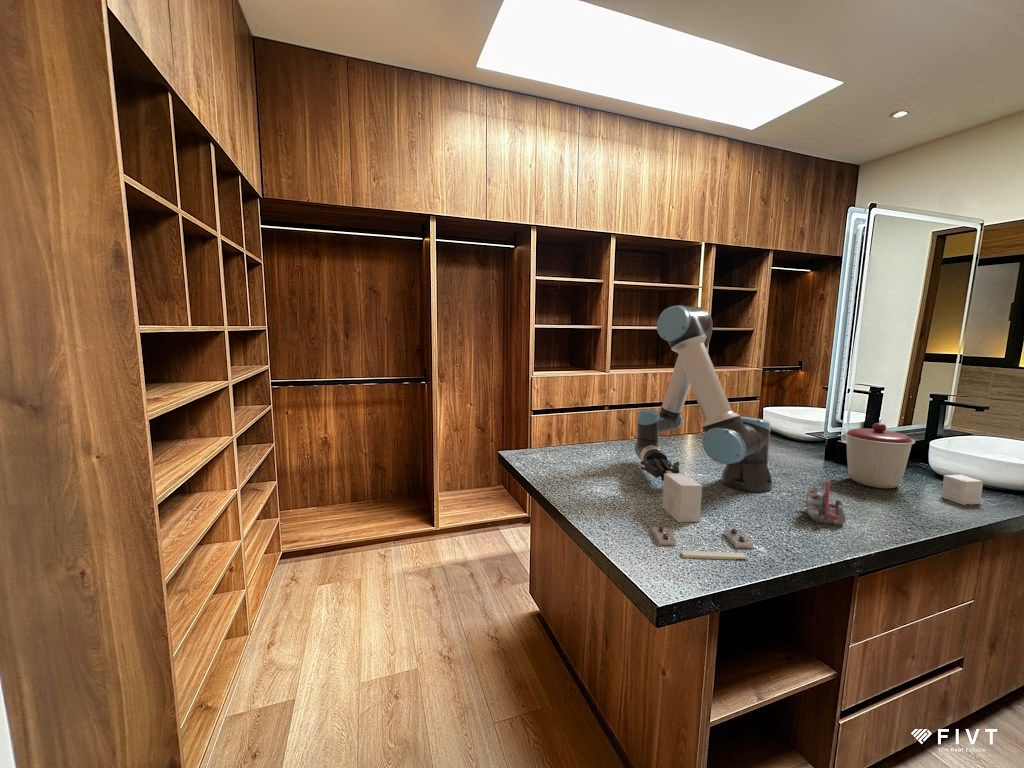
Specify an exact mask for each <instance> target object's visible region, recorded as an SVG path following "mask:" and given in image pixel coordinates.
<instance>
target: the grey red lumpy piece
mask: <svg viewBox="0 0 1024 768" xmlns="http://www.w3.org/2000/svg"><path fill="white" fill-rule="evenodd" d="M830 486H831V481H830V480H826V485H825V490H824V492H818V487H817V486H814V487H813V486H809V487H808V490H807V491H806V495H805V498H802V502H803V503H804V504H805V507H806V508H802V510H803V511H804V512H805V513H807V515H808V516H809V517H810V518H811V519H812V520H813V521H814V522H815V521H816V522H815V523H818V522H819V524H824V523H825V524H828V523H830V524H829V525H834V524H835V526H843V524H845V522H846V519H847V518H846V514H845V513H846V512H845V511H846V510H845V509H844V505H843V502H842V500H841V499H836V501H835V504H834V503H830V502H829V501H830V490H831V489H830Z"/></svg>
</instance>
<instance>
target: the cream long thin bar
mask: <svg viewBox="0 0 1024 768" xmlns="http://www.w3.org/2000/svg"><path fill="white" fill-rule="evenodd" d="M680 554H681V556H682V557H683V558H688V559H712V560H713V559H714V560H715V559H717V560H736V559H745V560H744V561H747V560H748V557H747V556H746V555H745V553H743V552H733V551H732V552H731V551H730V552H728V551H726V552H725V551H705V550H704V551H701V550H680Z"/></svg>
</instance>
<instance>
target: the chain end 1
mask: <svg viewBox="0 0 1024 768" xmlns="http://www.w3.org/2000/svg"><path fill="white" fill-rule="evenodd" d="M651 533H652V535H653V536H654V539H655V540H656V542H657V543H658V545H659V546H677V540H676V538H675V537H674V535H673V533H672V532H671V530H670V528H669V527H664V526H657V527H655V526H652V527H651Z"/></svg>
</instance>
